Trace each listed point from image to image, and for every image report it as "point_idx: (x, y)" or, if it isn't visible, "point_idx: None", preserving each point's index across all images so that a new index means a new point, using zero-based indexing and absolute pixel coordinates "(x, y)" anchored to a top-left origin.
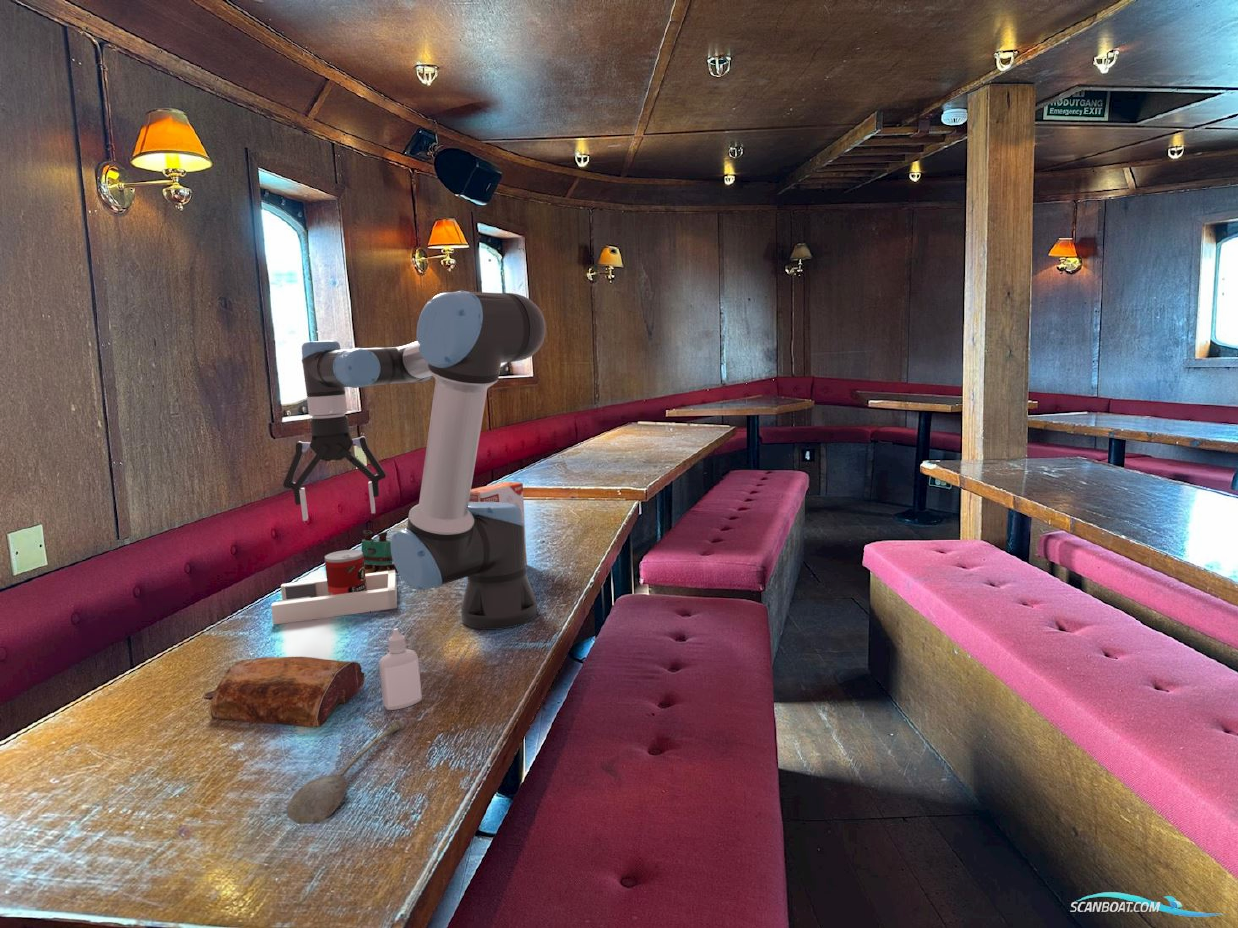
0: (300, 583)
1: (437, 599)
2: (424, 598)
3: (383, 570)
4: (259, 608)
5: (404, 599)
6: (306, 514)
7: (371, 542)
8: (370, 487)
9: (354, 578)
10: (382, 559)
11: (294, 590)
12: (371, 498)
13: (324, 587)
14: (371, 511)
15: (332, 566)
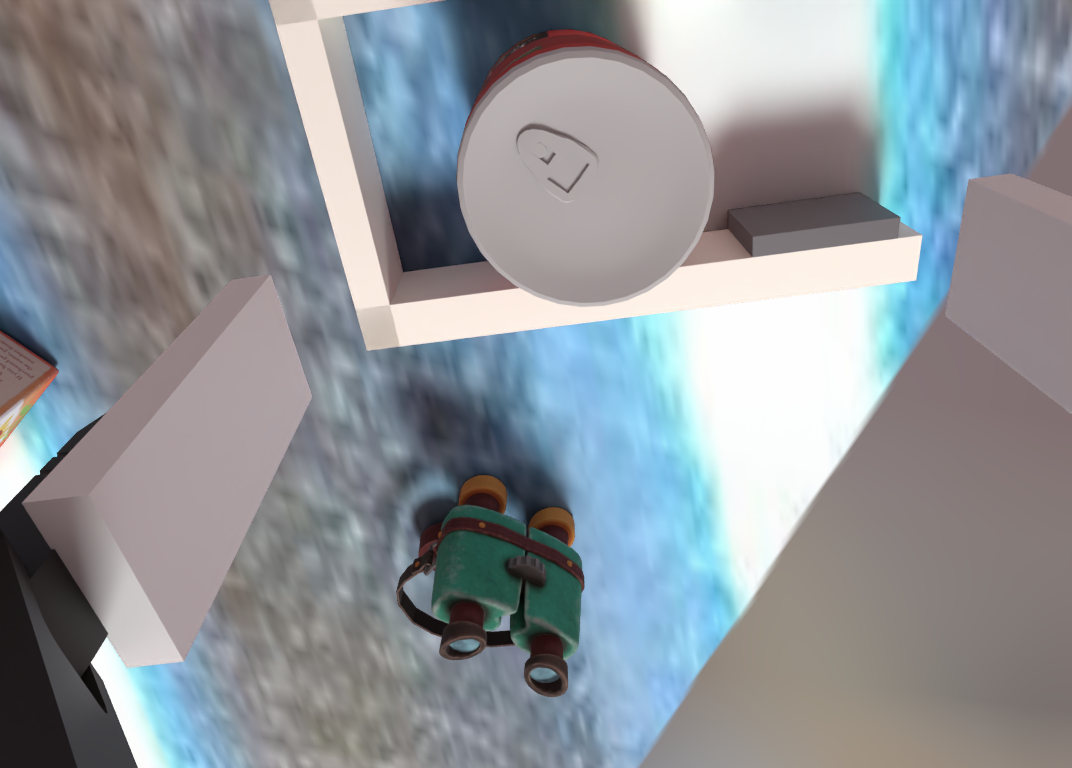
0: (825, 261)
1: (105, 55)
2: (185, 94)
3: (478, 493)
4: None
5: (291, 108)
6: (1000, 230)
7: (524, 610)
8: (100, 453)
9: (508, 60)
10: (474, 523)
11: (846, 215)
12: (182, 356)
13: (701, 252)
14: (261, 285)
15: (645, 61)
